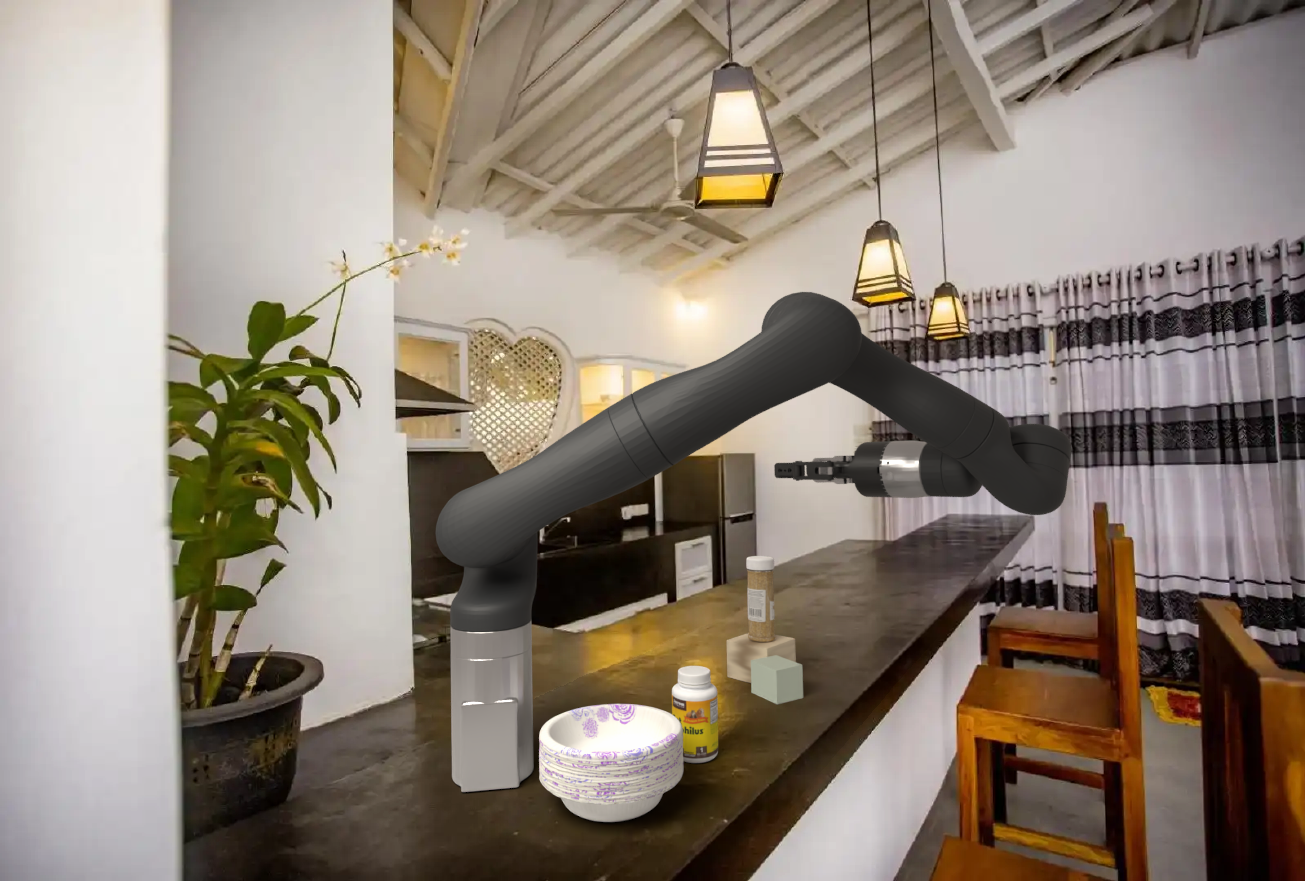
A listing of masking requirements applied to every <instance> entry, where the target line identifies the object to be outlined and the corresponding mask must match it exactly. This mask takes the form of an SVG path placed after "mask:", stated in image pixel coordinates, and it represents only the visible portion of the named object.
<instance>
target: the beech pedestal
mask: <svg viewBox="0 0 1305 881" xmlns="http://www.w3.org/2000/svg"><path fill="white" fill-rule="evenodd" d="M748 634H749V632H747V633H743V634H741V635H738V636H735V637H732V638H729V639H727V640H726V675H727V678H730V679H734V680H737V681H741V682H745V683H749V684H751V660H755V659H760V658H764V657H769V656H774V655H777V656H780V657H783V658H785V659H788V660H791V661H793V662H796V663H797V658H796V638H793V637H790V636H784V635H780V634H779V635H778V634H775V639H774V640H773V641H770V642H757V641H752V640H750V639H749V638H748Z"/></svg>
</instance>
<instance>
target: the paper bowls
mask: <svg viewBox="0 0 1305 881" xmlns="http://www.w3.org/2000/svg"><path fill="white" fill-rule="evenodd" d="M538 734H539V737H538V739H539V740H538V741H539V742H538V743H539V749H538V751H539V752H538V754H539V755H538V758H539V759H538V762H539V763H538V764H539V765H538V766H539V768H538V769H539V770H538V772H539V778H538V779H539V781H540V784H541V785H542V786H543V787H544V788H545V789H546V790H547V791H548V792H549V793H551V794H552V795H554V796H555V797H558V798H560V799H561V801H562V802H563V804H564V806H565V808H567V809H568V810H569V811H570V812H571V813H573V814H574V815H575V816H579V817H580V818H582V819H586V820H589V821H593V822H603V823H615V822H624V821H629V820H632V819H635V818H639V817H641V816H644V815H646V814H647V813H648V812H650V811H651V810H653V809H654V808H655V807H656V806H657V805H658V804H659V802H660V801H661V799H662V797H663V794H664V793H666V792H668V791H670V790H671V789H673V788H675V786H676V785H677V784H678V783H679V782H680V781H681V779H682V777H683V775H684V761H683V728H682V725H681V723H680V722H679V720H678V719H677V718H676V717H675V716H673V715H672V713H671V712H668V711H666V710H663V709H660V708H657V707H653V706H648V705H643V704H642V705H641V704H633V703H632V704H631V703H608V704H607V703H605V704H596V705H588V706H582V707H579V708H578V707H577V708H573V709H571V710H567V711H565V712H562V713H560V714H558V715H555V716H553V717H551V718H550V719H549V720H547V721H546V722H545V723H544V724H543V725H542V726H541V729H540V731H539V733H538Z"/></svg>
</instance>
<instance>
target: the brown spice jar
mask: <svg viewBox="0 0 1305 881" xmlns="http://www.w3.org/2000/svg"><path fill="white" fill-rule="evenodd" d="M745 563H746V564H745V565H746V571H747V587H746V589H747V592H746V593H747V594H746V595H747V619H748V623H747V624H748V625H747V626H748V633H749V634H748V638H749V639H750V640H752V641H757V642H770V641H773V640H774V639H775V635H776V634H775V633H776V632H775V617H776V616H775V592H774V571H775V559H774V557H773V556H769V555H767V556H766V555H752V556H748V557H746V562H745Z"/></svg>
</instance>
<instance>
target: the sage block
mask: <svg viewBox="0 0 1305 881" xmlns="http://www.w3.org/2000/svg"><path fill="white" fill-rule="evenodd" d="M803 675H804V674H803V664H801V663H799V662H797V661H796V662H793V661H791V660H788V659H785V658H783V657H780V656H777V655H774V656H769V657H764V658H760V659H755V660H751V683H750V684H751V690H750V691H751V694H754V695H756V696H758V697H760V698H763V699H765V700H766V701H769V702H771V703H773V704H775V705H781V704H784V703H788V702H793V701H796V700H800V699H803V698H804V682H803V681H804V677H803Z"/></svg>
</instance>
